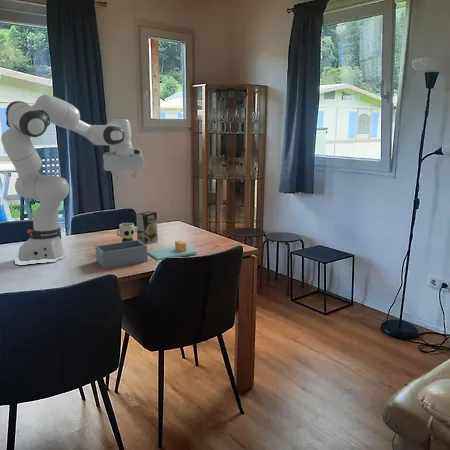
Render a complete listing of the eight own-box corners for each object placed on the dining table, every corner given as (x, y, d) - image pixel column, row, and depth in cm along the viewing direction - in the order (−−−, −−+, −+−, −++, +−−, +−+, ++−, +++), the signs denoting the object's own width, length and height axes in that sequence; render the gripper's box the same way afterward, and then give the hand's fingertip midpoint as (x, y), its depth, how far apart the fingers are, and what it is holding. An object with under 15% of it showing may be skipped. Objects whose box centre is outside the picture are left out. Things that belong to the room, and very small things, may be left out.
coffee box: (145, 245, 228) (144, 215, 224) (137, 243, 232) (135, 213, 228) (158, 241, 235) (157, 212, 232) (150, 239, 239) (148, 210, 235)
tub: (103, 270, 191) (102, 252, 189) (96, 263, 201) (95, 246, 199) (147, 262, 201) (146, 245, 199) (138, 256, 211) (137, 239, 209)
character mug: (121, 253, 215) (119, 227, 212) (114, 250, 221) (113, 224, 218) (141, 249, 222) (139, 224, 219) (134, 246, 227) (133, 221, 224)
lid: (157, 262, 202) (157, 250, 201) (147, 255, 213) (146, 243, 211) (197, 255, 213) (197, 243, 211) (185, 249, 223) (185, 237, 222)
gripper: (104, 152, 214) (106, 181, 217) (144, 150, 224) (146, 177, 227) (100, 151, 219) (102, 179, 222) (140, 149, 229) (141, 176, 232)
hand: (125, 178), depth 225 cm, fingers open, 8 cm apart
